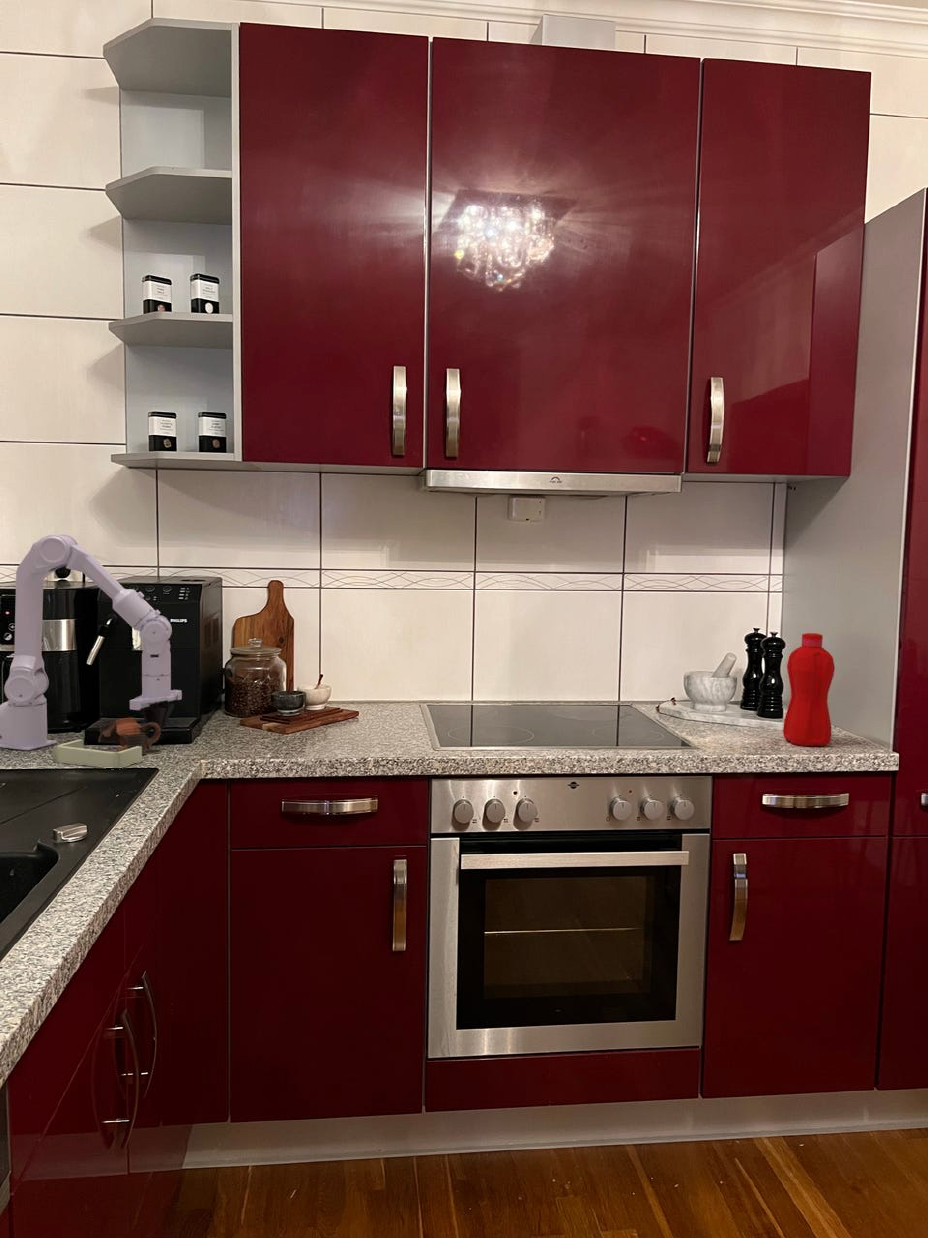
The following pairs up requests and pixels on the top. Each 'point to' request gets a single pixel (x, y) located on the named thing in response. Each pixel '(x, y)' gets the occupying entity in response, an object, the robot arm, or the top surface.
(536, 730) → the top surface
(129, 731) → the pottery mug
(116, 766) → the tray
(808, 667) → the water bottle
